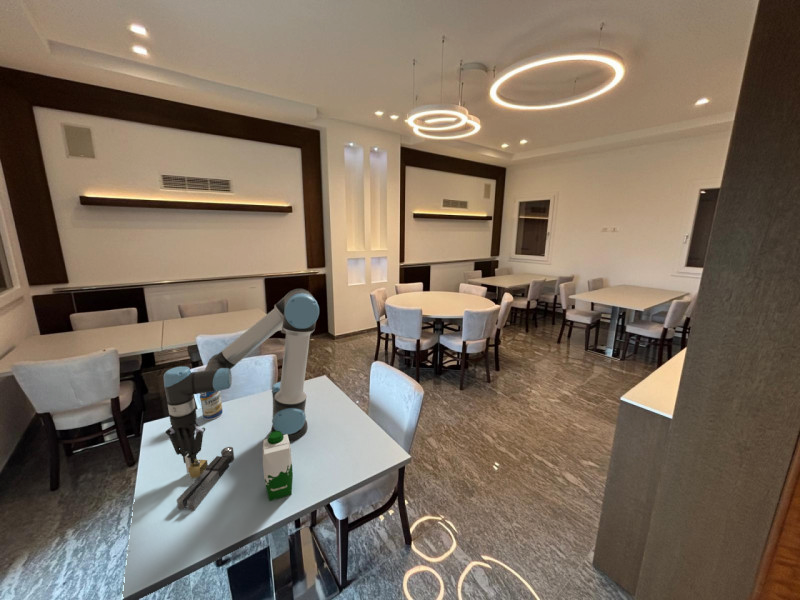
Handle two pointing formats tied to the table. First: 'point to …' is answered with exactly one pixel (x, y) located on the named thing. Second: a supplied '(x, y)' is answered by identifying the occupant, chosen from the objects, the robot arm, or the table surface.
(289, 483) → the milk carton
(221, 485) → the table surface
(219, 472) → the base
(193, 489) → the tong arm
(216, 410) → the beverage bottle
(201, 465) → the block
